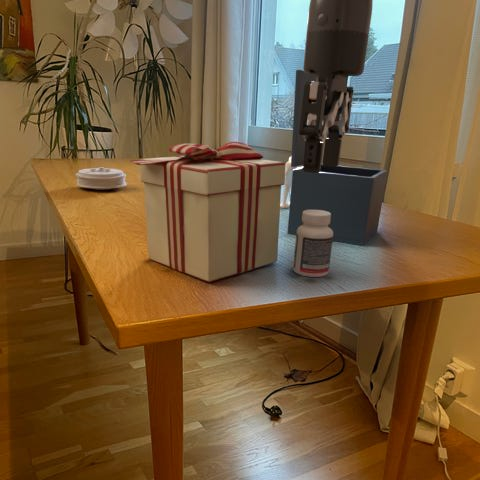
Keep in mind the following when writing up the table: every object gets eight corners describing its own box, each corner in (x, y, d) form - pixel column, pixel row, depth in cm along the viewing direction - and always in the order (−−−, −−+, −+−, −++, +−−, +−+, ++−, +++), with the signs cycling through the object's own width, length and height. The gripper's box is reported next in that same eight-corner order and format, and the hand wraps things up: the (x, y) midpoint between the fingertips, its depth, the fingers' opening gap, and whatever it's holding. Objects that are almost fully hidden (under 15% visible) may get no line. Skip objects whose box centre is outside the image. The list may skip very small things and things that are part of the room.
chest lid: (322, 74, 89) (318, 74, 90) (300, 69, 79) (295, 69, 79) (316, 160, 96) (312, 160, 96) (294, 167, 85) (290, 166, 86)
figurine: (289, 203, 118) (293, 152, 113) (303, 206, 115) (308, 154, 110) (272, 207, 113) (276, 153, 107) (287, 210, 110) (292, 155, 105)
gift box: (199, 238, 85) (199, 135, 78) (283, 262, 74) (293, 145, 67) (121, 258, 73) (113, 138, 66) (208, 290, 62) (210, 151, 55)
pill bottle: (335, 275, 70) (343, 215, 66) (307, 280, 68) (314, 217, 64) (313, 264, 74) (319, 207, 70) (286, 268, 72) (291, 209, 68)
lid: (66, 188, 122) (64, 168, 120) (97, 182, 133) (96, 163, 131) (107, 194, 118) (105, 173, 116) (136, 187, 129) (135, 168, 127)
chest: (377, 231, 95) (387, 170, 90) (363, 246, 85) (373, 178, 80) (308, 221, 101) (314, 163, 96) (287, 233, 91) (292, 169, 86)
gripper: (353, 21, 51) (333, 178, 57) (380, 38, 62) (360, 167, 69) (288, 22, 53) (276, 171, 60) (325, 38, 65) (311, 162, 72)
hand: (321, 169), depth 65 cm, fingers open, 8 cm apart
